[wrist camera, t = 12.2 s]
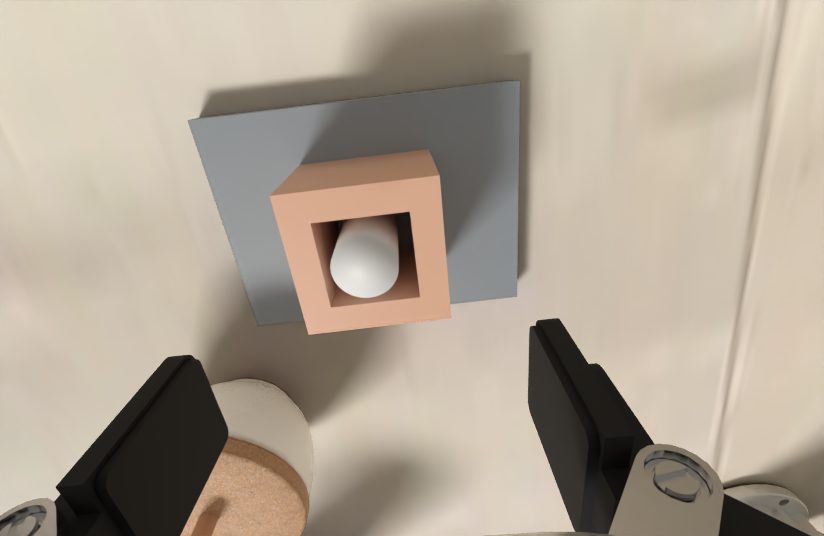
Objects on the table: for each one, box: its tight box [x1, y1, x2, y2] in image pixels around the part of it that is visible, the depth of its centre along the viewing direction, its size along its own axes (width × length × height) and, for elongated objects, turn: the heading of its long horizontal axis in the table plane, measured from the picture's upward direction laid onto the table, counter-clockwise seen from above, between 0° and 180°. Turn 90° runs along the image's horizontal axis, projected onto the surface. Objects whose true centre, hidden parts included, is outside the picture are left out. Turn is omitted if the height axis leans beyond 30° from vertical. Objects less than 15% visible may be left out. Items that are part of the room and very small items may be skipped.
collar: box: [270, 149, 451, 335], centre depth 19 cm, size 7×7×6 cm
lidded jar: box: [180, 378, 314, 536], centre depth 25 cm, size 11×11×9 cm
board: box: [188, 80, 520, 326], centre depth 20 cm, size 16×12×7 cm
